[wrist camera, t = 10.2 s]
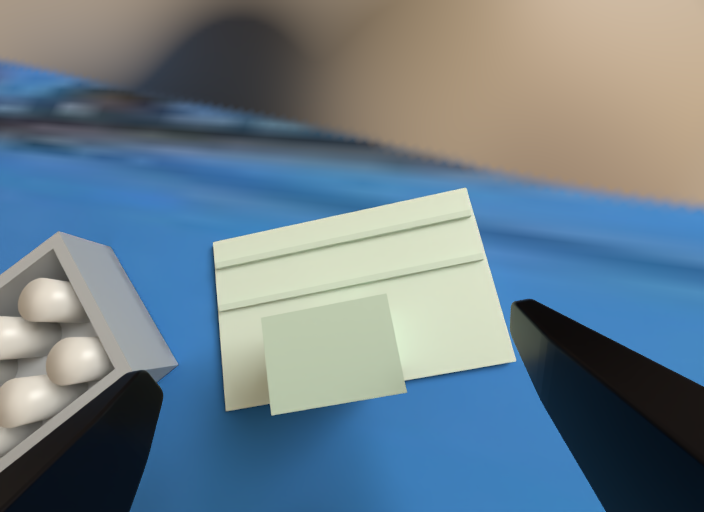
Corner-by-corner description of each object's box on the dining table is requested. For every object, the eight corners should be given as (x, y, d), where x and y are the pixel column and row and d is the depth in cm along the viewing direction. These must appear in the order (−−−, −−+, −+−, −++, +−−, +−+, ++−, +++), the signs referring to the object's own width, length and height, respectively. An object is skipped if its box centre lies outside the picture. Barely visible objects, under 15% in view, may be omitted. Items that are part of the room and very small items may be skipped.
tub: (178, 364, 17) (132, 371, 14) (-38, 535, 16) (-133, 580, 13) (110, 247, 19) (58, 231, 16) (-83, 394, 18) (-174, 406, 15)
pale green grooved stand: (510, 359, 15) (626, 386, 8) (233, 407, 16) (94, 472, 9) (462, 194, 17) (516, 85, 10) (220, 246, 18) (98, 184, 11)
